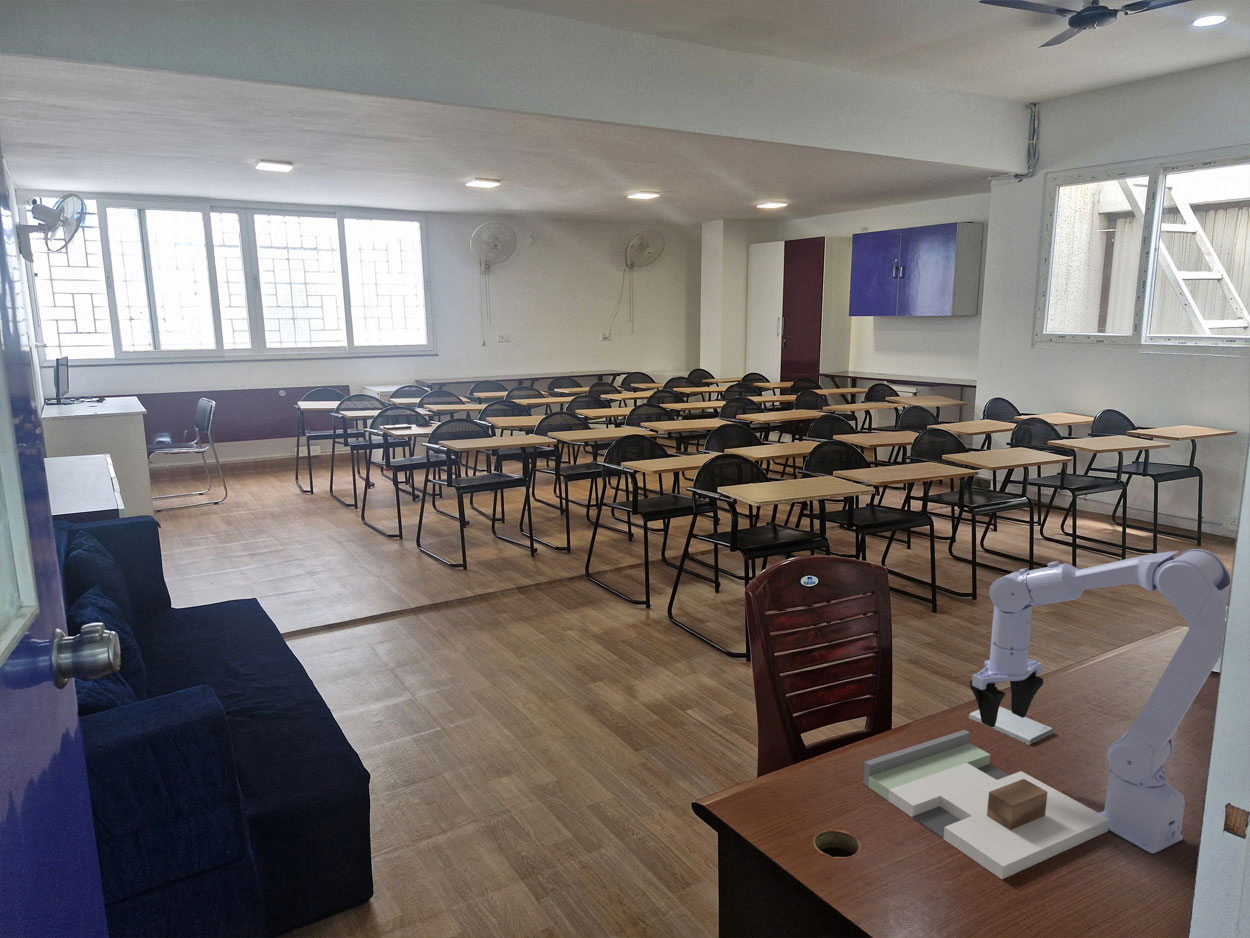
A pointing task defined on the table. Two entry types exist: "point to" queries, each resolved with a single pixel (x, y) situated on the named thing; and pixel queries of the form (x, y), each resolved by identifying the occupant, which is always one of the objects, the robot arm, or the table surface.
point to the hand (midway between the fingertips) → (1003, 719)
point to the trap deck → (977, 804)
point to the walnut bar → (1017, 804)
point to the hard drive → (1017, 726)
